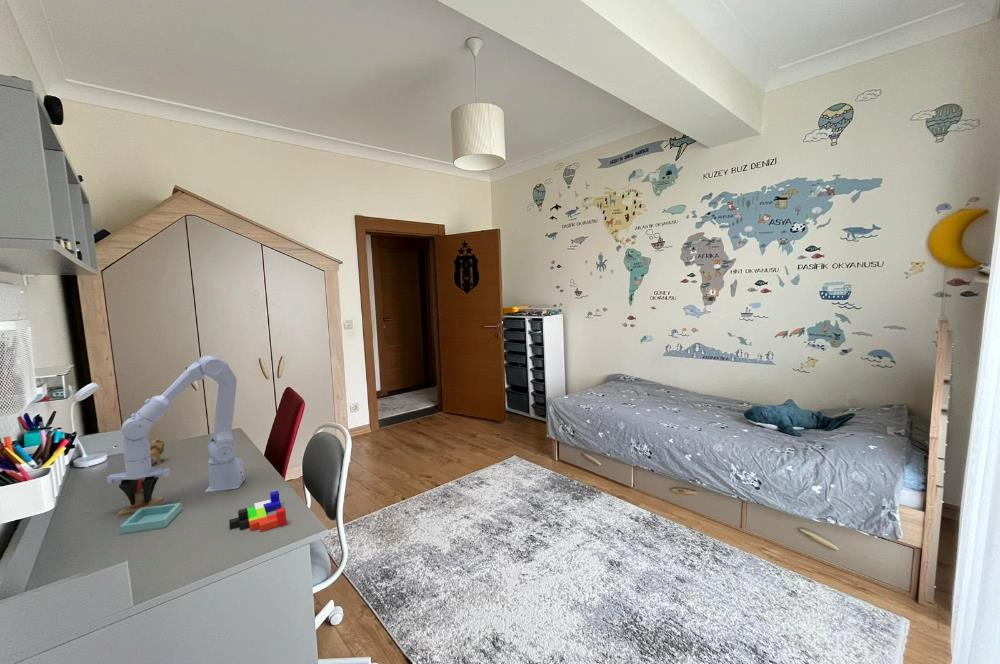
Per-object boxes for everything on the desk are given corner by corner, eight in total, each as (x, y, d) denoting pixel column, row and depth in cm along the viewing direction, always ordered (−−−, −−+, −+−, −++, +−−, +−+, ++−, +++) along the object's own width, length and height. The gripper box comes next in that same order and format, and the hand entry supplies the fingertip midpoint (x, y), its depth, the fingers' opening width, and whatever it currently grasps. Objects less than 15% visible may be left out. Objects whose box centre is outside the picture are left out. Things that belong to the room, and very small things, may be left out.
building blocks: (228, 517, 118) (227, 502, 117) (278, 504, 125) (278, 490, 125) (231, 541, 105) (230, 525, 105) (286, 525, 113) (285, 510, 113)
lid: (164, 499, 127) (163, 484, 126) (151, 512, 119) (149, 495, 119) (133, 503, 124) (131, 487, 124) (117, 516, 117) (115, 500, 116)
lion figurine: (156, 459, 161) (154, 437, 160) (170, 459, 161) (168, 437, 160) (122, 475, 146) (120, 451, 145) (138, 475, 146) (136, 450, 146)
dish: (182, 510, 121) (181, 502, 120) (165, 528, 111) (164, 520, 111) (140, 516, 118) (140, 508, 117) (120, 535, 108) (119, 526, 108)
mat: (169, 499, 128) (168, 498, 128) (154, 513, 119) (154, 512, 119) (130, 504, 125) (129, 503, 125) (112, 519, 116) (111, 518, 116)
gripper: (173, 450, 127) (176, 492, 128) (115, 456, 122) (119, 499, 123) (162, 458, 120) (165, 503, 121) (100, 465, 116) (104, 511, 117)
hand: (141, 502), depth 122 cm, fingers closed on lid, 3 cm apart
